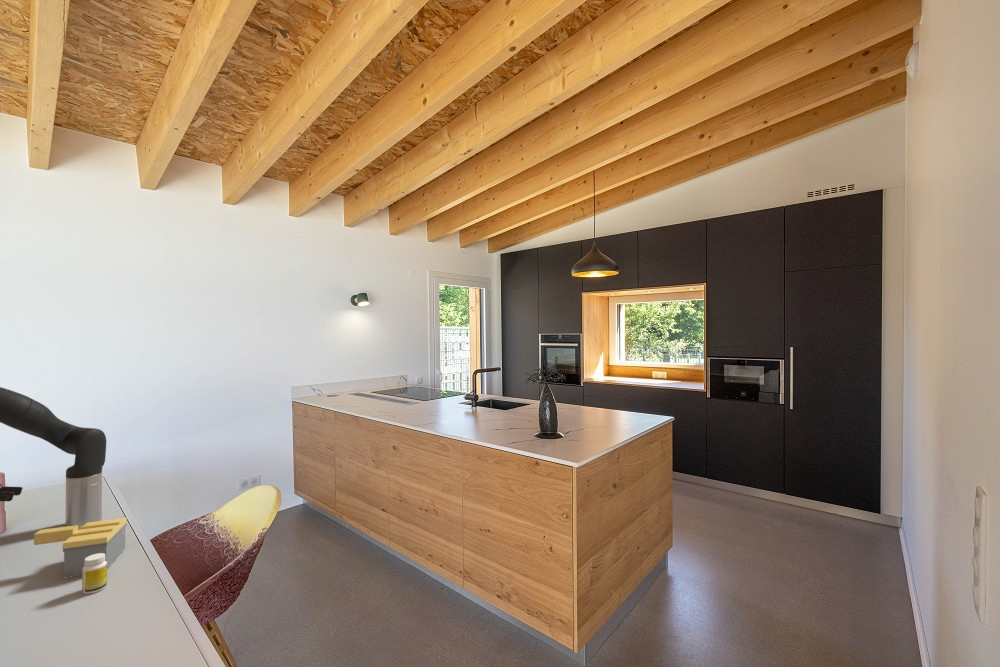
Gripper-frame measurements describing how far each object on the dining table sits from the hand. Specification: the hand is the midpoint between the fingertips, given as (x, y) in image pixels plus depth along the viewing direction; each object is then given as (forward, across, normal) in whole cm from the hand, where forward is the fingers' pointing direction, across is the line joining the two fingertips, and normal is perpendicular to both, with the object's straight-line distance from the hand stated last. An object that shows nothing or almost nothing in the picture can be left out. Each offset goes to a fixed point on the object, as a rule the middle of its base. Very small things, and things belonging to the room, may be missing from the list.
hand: (17, 493), depth 123 cm
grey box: (+21, -2, +18) cm, 28 cm away
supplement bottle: (+23, -20, +20) cm, 36 cm away
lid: (+16, -2, +11) cm, 19 cm away
